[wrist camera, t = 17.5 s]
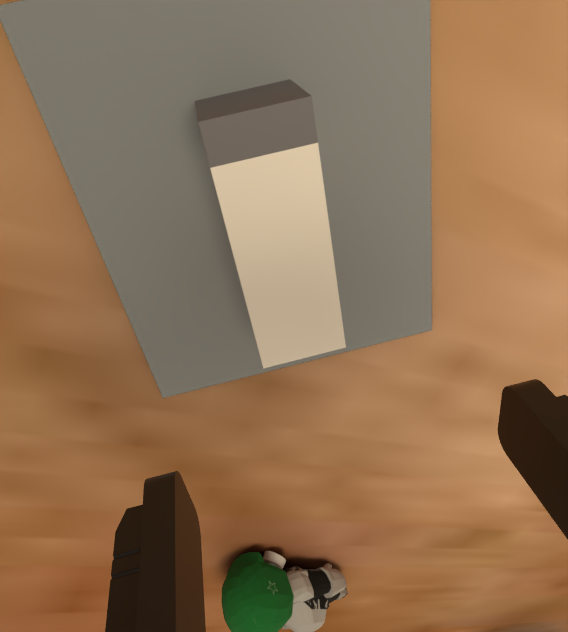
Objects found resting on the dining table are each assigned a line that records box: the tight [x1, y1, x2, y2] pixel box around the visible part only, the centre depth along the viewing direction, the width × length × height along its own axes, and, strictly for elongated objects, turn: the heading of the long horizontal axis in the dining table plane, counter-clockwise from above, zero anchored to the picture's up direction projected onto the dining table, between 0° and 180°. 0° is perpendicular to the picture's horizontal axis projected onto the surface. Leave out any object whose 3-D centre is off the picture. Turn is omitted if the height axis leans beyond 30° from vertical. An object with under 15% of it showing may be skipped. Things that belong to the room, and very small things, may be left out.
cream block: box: [195, 79, 346, 369], centre depth 27 cm, size 5×5×14 cm
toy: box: [222, 551, 348, 632], centre depth 49 cm, size 9×7×15 cm
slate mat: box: [0, 0, 432, 398], centre depth 29 cm, size 20×24×1 cm
